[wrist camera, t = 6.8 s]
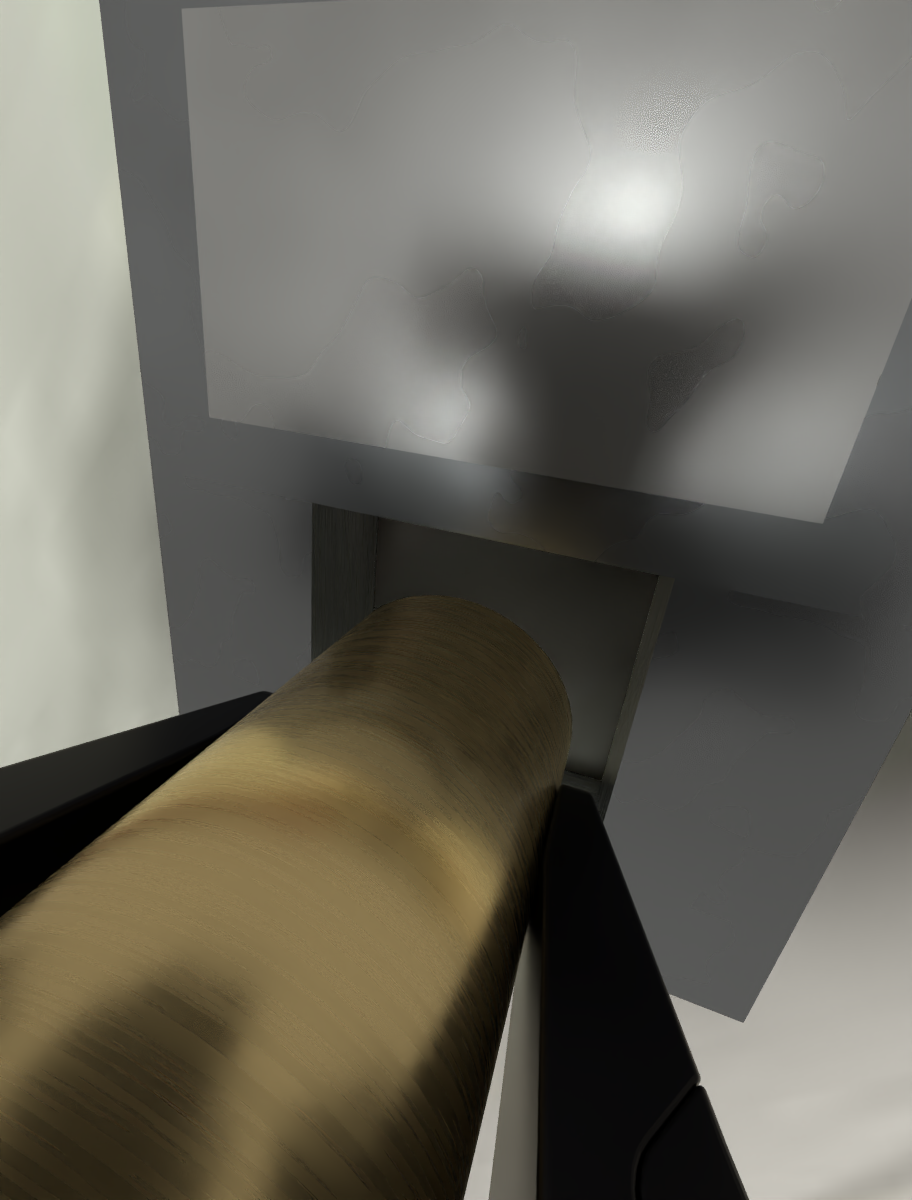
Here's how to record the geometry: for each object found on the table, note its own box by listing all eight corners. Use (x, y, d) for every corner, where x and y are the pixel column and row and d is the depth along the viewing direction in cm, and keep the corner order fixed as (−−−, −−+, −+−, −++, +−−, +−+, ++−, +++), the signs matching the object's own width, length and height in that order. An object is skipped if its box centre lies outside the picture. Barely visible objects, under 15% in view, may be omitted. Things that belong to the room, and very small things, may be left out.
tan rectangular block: (547, 843, 9) (326, 1771, 3) (334, 770, 10) (-153, 1363, 4) (597, 631, 8) (350, 1691, 1) (339, 570, 9) (-450, 1045, 2)
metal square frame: (727, 904, 12) (749, 1072, 9) (258, 743, 15) (162, 830, 12) (1106, 70, 6) (1480, -188, 3) (229, 79, 9) (36, -53, 6)
